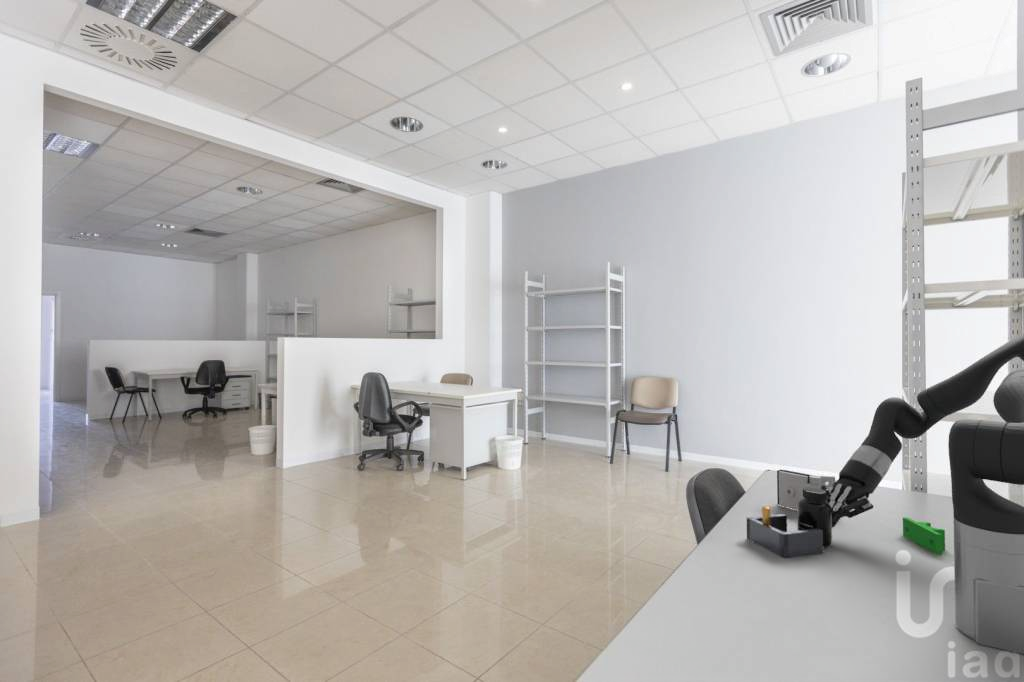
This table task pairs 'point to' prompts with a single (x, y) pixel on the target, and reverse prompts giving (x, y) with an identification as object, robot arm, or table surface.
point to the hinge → (797, 486)
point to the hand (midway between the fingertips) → (825, 525)
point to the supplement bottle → (815, 513)
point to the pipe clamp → (924, 535)
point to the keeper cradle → (783, 536)
